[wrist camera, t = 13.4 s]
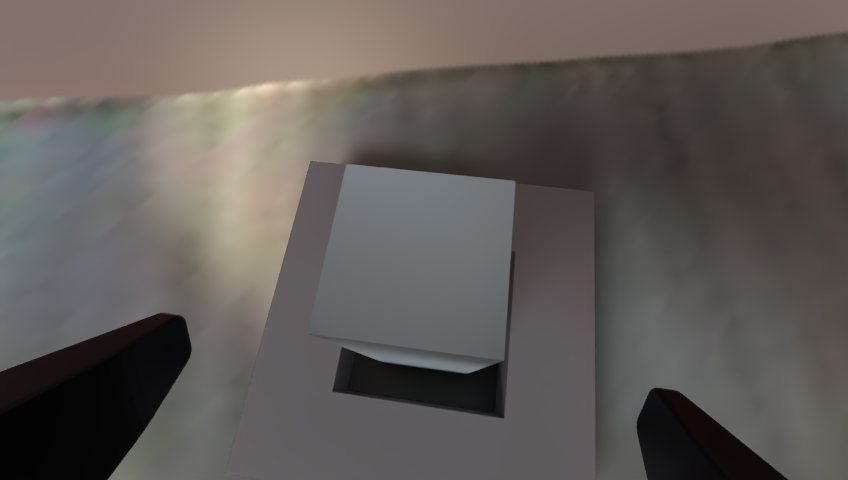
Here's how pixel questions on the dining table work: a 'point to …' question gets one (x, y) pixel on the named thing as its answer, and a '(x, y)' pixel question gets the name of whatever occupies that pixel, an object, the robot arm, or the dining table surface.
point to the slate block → (418, 269)
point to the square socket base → (418, 421)
